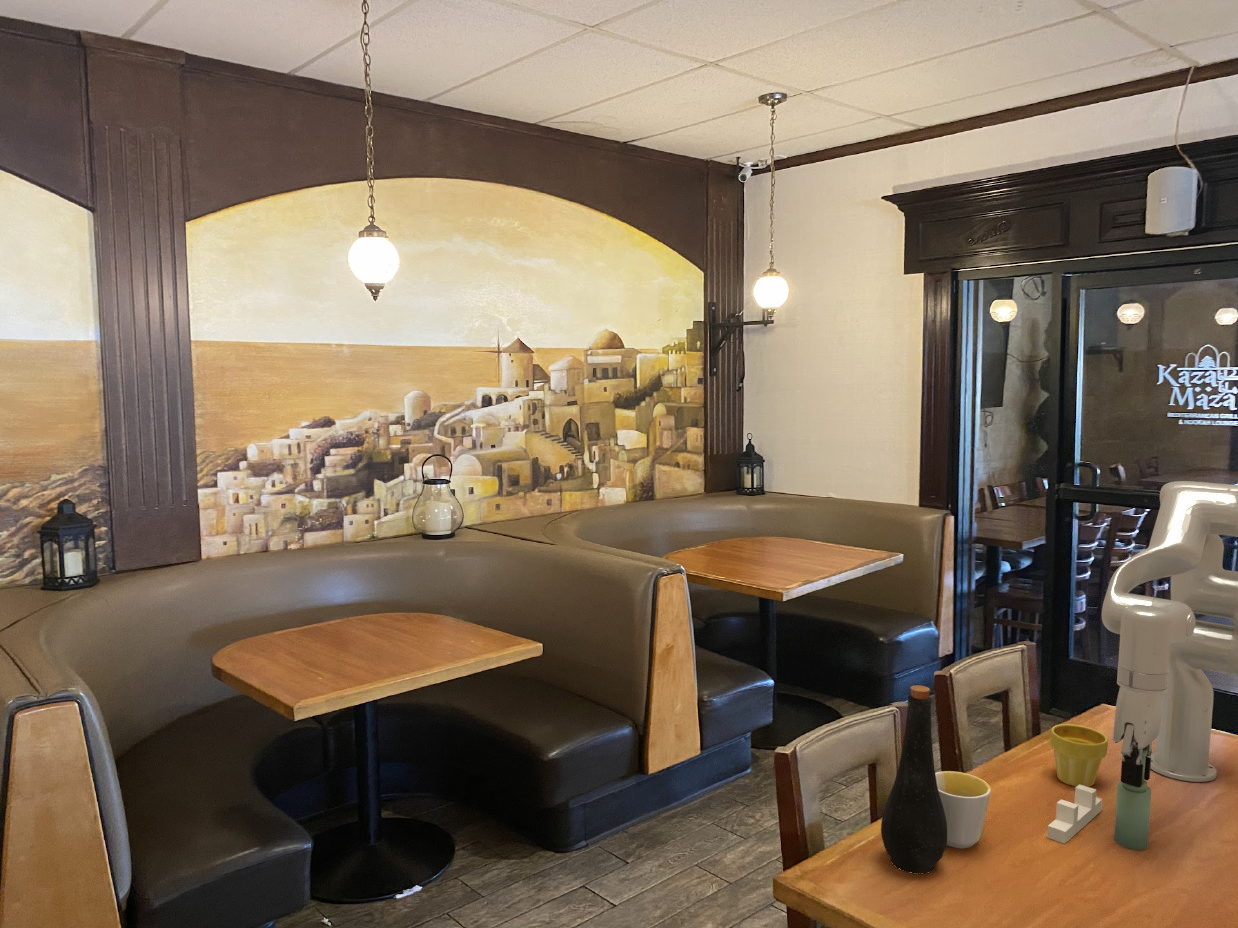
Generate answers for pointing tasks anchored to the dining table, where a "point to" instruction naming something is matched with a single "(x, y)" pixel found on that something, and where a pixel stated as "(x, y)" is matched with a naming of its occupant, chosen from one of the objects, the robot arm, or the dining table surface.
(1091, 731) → the plant pot
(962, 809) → the mug
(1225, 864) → the dining table surface
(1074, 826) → the u rest
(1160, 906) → the dining table surface
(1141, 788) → the green bottle
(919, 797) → the bottle
